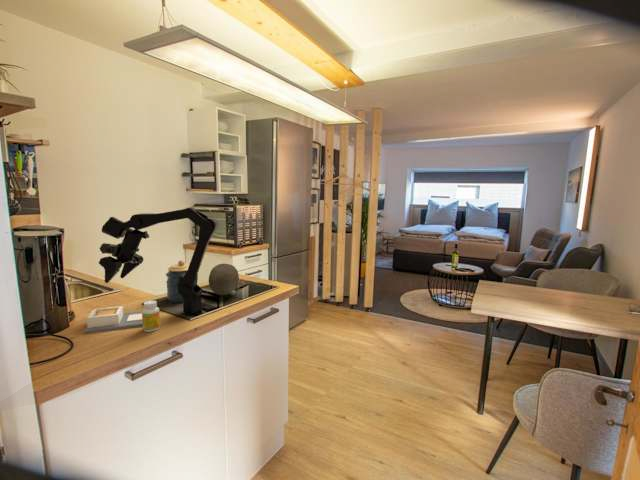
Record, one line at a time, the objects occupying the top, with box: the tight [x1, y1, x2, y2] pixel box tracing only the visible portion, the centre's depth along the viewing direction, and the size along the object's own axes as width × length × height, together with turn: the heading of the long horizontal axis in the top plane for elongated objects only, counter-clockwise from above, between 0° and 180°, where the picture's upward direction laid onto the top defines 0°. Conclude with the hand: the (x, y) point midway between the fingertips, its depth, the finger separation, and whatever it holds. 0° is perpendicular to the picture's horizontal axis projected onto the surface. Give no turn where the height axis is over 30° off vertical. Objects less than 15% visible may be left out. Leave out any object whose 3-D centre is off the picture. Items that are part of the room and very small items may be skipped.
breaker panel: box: [84, 305, 143, 334], centre depth 119 cm, size 19×14×5 cm
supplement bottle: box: [141, 300, 161, 333], centre depth 113 cm, size 5×5×10 cm
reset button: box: [96, 310, 116, 316], centre depth 117 cm, size 5×5×2 cm
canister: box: [165, 259, 190, 303], centre depth 145 cm, size 13×13×18 cm
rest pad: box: [127, 314, 142, 322], centre depth 121 cm, size 6×6×1 cm
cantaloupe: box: [208, 263, 240, 296], centre depth 151 cm, size 14×14×15 cm
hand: (114, 280), depth 124 cm, fingers open, 9 cm apart
